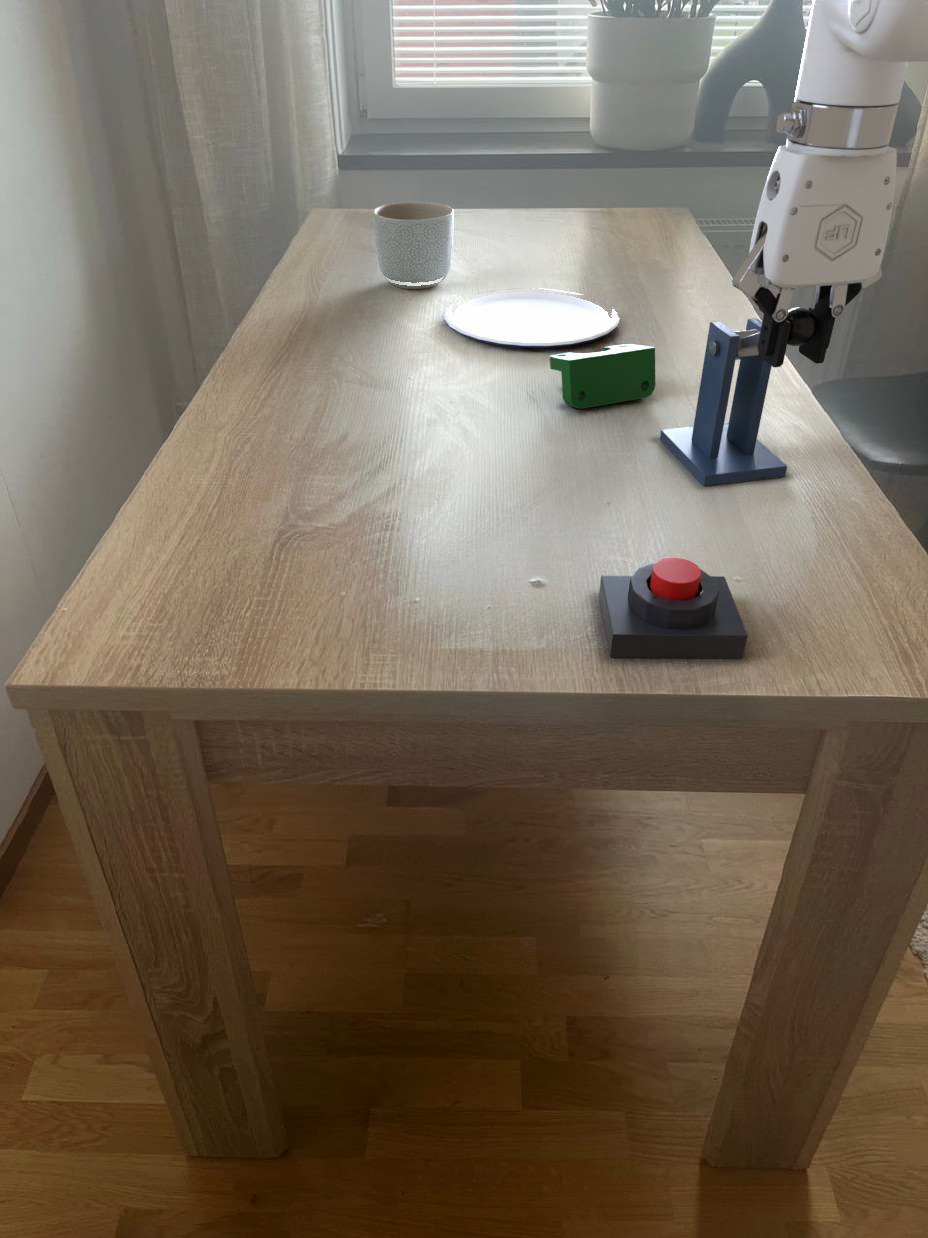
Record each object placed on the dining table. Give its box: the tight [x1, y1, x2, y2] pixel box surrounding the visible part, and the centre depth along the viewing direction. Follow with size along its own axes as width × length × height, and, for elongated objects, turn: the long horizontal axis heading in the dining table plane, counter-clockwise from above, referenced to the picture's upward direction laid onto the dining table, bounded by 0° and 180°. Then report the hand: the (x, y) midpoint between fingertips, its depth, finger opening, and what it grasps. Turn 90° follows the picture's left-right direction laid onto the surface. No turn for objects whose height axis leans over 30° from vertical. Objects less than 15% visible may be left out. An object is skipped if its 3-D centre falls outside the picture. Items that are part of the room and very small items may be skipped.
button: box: [650, 557, 701, 601], centre depth 70 cm, size 4×4×2 cm
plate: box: [443, 287, 621, 349], centre depth 131 cm, size 25×25×1 cm
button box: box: [598, 562, 748, 660], centre depth 71 cm, size 10×8×4 cm
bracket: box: [659, 317, 788, 487], centre depth 93 cm, size 11×9×14 cm
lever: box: [734, 307, 817, 361], centre depth 85 cm, size 13×3×3 cm, turn 13°
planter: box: [372, 201, 455, 290], centre depth 144 cm, size 12×12×11 cm
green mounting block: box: [549, 343, 656, 410], centre depth 108 cm, size 12×6×9 cm, turn 106°
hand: (790, 357), depth 82 cm, fingers closed on lever, 3 cm apart
